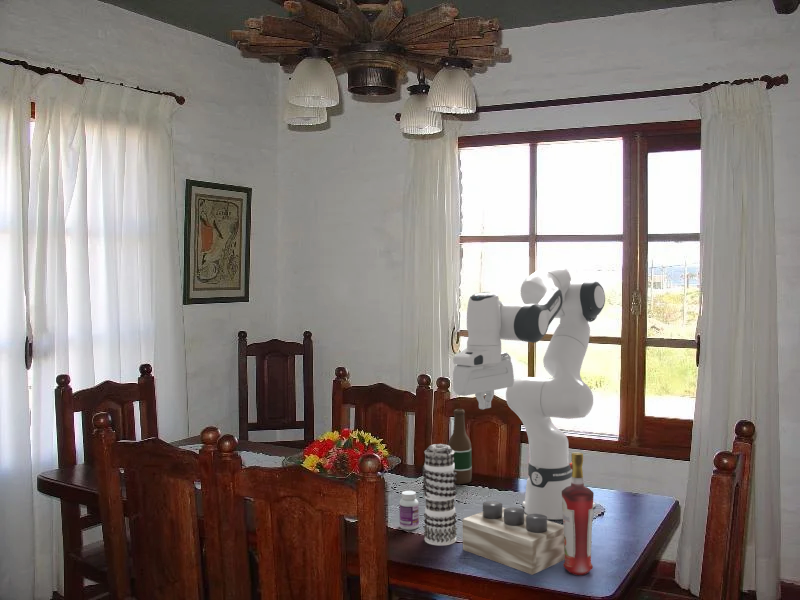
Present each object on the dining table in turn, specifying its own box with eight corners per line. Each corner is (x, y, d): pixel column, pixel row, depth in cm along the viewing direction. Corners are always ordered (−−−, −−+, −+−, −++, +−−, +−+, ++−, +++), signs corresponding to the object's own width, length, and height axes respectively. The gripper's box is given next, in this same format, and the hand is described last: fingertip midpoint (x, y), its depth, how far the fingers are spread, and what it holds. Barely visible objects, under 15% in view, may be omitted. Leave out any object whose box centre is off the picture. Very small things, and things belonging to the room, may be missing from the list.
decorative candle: (415, 539, 204) (414, 445, 203) (442, 531, 210) (441, 440, 208) (438, 548, 197) (436, 452, 195) (465, 540, 202) (463, 446, 201)
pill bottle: (417, 530, 210) (416, 496, 210) (397, 529, 211) (397, 495, 211) (420, 524, 216) (420, 490, 215) (401, 523, 217) (401, 489, 216)
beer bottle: (472, 484, 253) (471, 411, 251) (449, 484, 253) (447, 412, 251) (470, 477, 260) (469, 407, 259) (447, 477, 260) (446, 407, 259)
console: (498, 535, 205) (498, 506, 205) (567, 558, 189) (567, 526, 189) (462, 549, 196) (462, 518, 195) (532, 574, 180) (532, 541, 179)
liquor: (558, 565, 185) (557, 450, 183) (588, 564, 185) (588, 449, 184) (566, 578, 177) (566, 458, 176) (598, 577, 178) (597, 457, 176)
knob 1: (491, 530, 201) (491, 500, 201) (506, 535, 197) (506, 504, 197) (479, 535, 198) (478, 504, 197) (493, 540, 194) (493, 508, 194)
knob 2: (512, 537, 196) (512, 506, 195) (528, 542, 192) (528, 510, 192) (500, 542, 193) (499, 510, 192) (515, 547, 189) (515, 515, 188)
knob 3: (534, 544, 191) (534, 512, 190) (551, 549, 187) (551, 517, 187) (522, 549, 187) (521, 517, 187) (538, 555, 184) (538, 522, 183)
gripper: (500, 350, 209) (501, 401, 209) (448, 358, 195) (449, 412, 196) (519, 352, 204) (519, 404, 205) (466, 360, 190) (467, 415, 191)
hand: (484, 408), depth 200 cm, fingers closed
